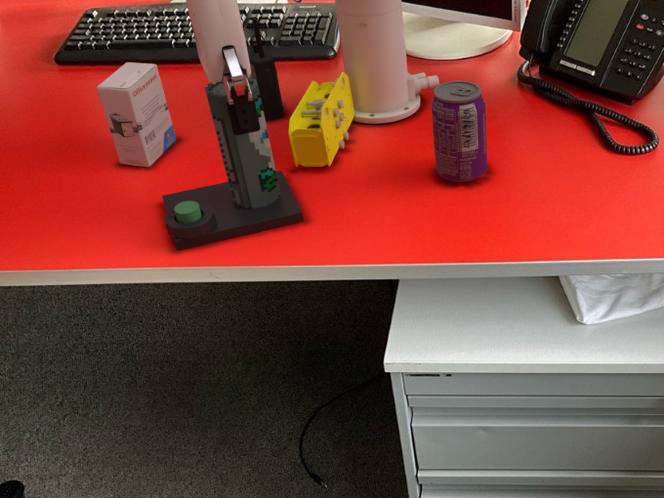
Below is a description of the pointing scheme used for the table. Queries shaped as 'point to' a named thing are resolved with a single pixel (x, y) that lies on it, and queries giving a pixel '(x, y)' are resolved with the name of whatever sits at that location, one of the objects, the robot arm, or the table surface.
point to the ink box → (137, 113)
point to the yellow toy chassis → (321, 122)
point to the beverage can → (459, 131)
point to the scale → (228, 214)
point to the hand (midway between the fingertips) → (239, 115)
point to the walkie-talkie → (265, 77)
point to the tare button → (187, 212)
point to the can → (244, 152)
